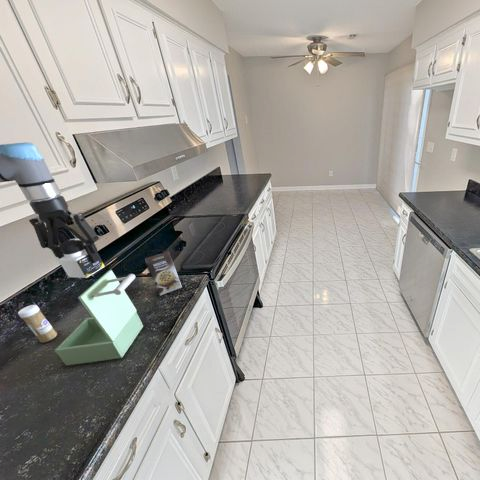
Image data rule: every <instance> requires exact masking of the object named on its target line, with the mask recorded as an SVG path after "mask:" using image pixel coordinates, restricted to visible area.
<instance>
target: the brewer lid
mask: <svg viewBox="0 0 480 480" xmlns="http://www.w3.org/2000/svg"><path fill="white" fill-rule="evenodd" d="M135 279H136V275H135V274H134V273H129V274H128V275H127V276H123V277H117V276H116V275H115V273H114V272H113V270H112V269H109V270H108V271H106V272H105V273H104V274H103V275H102V276H100V278H98V279H97V280H96V281H95V282H94V283H93V284H91V286H89V287H88V288H87V289H86V290H84V292H83V293H81V294H80V295H79V296H78V297H77V299H78V300H79V302H80V303H81V304H82V305H83V307H84V308H85V309H86V311H87V312H88V313H89V315H90V316H91V318H92V317H93V319H94V320H95V321H96V323H97V324H98V325H99V327H100V328H101V329H102V331H103V332H104V334H105V335H106V336H107V338H108V339H109V340H110V342H113V341H114V340H115V339H116V337H117V336H118V335H119V333H120V332H121V331H122V329H123V328H124V327H125V326H126V324H127V323H128V322H129V320H130V319H131V318H132V316H133V315H134V314H135V312H136V313H137V307H135V306H134V304H133V302H132V300H131V298H130V297H129V295H128V294H127V292H126V291H125V290H126V289H127V288H128V286H130V285H131V284H132V283H133V281H135ZM120 281H121V282H120Z"/></svg>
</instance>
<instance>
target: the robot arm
mask: <svg viewBox="0 0 480 480" xmlns="http://www.w3.org/2000/svg"><path fill="white" fill-rule="evenodd" d="M8 182H16V184H17V186H18V188H19V189H20V190H21V192H22V195H23V196H24V197H25V199H26V200H27V201H29V206H30V207H31V209H32V210H33V211H32V212H34V214H36V215H38V216H35V217H32V218H29V220H28V222H29V223H30V224H31V226H32V227H33V229H34V231H35V234H36V237H37V239H38V243H39V246H40V247H41V248H42V249H45V248H46V249H49V250H51V252H52V254H53V255H54V256H55V257H56V258H58V260H59V259H60V258H62V257H64V254H63V253H62V251H61V249H60V248H59V245H60V244H61V243H60V239H59V237H60V235H59V228H63V229H65V230H66V231H69V232H70V233H71V234H72V235H74V236H75V237H76V239H80V240H81V241H82V242H83V243H84V244H85V245H84V246H83V247H84V248H85V250H86V252H87V254H88V256H89V258H90V259H91V261H92V263H96V262H97V261H98V260H100V258H101V257H100V258H99V256H100V255H99V256H98V254H99V253H98V254H97V252H98V248H97V246H96V244H95V243H96V242H97V241H99V240H100V238H99V236H98V235H97V234H96V232H95V231H94V229H93V228H92V227H91V226H90V223H88V221H87V220H86V219H85V215H84V213H83V212H77V213H72V211H70V210H69V205H68V203H67V201H66V199H65V197H64V196H63V195H62V192H61V190H60V188H59V186H58V184H57V183H56V180H55V178H54V177H53V175H52V173H51V171H50V169H49V167H48V165H47V163H46V161H45V158H44V157H43V156H42V154H41V152H40V151H39V149H38V148H37V146H36V145H35V144H34V143H32V142H14V143H4V144H3V143H1V144H0V183H8Z"/></svg>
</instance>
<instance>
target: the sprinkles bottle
mask: <svg viewBox="0 0 480 480" xmlns="http://www.w3.org/2000/svg"><path fill="white" fill-rule="evenodd" d="M17 314H18V316H19V317H20V318H21V319H23V321H24V322H25V323H26V325H27V327H28V328H29V329H30V330H31V331H32V333H33V334H34V336H36V337H37V339H38V340H39V343H47V342H50V341H51V340H53V339H54V338H56V337H57V336H58V332H57V331H56V330H55V329H54V328H53V325H52V324H51V323H50V322H49V320H48V319H47V318H46V317H45V315H44V314H43V312H42V311H41V310H40V307H39V306H38V305H37V304H30V305H28V306H25V307H23V308H21V309H20V310H19V311H18V312H17Z"/></svg>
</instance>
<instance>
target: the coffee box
mask: <svg viewBox="0 0 480 480" xmlns="http://www.w3.org/2000/svg"><path fill="white" fill-rule="evenodd" d="M144 260H145V264H146V266H147V268H148V269H147V270H148V271H149V274H150V276H151V278H152V281H153V283H154V285H155V287H156V290H157V293H158V295H159V296H163V295H166V294H168V293H171V292H174V291H176V290H179V289H183V285H182V283H181V280H180V278H179V275H178V272H177V270H176V266H175V264H174V262H173V261H174V260H173V258H172V256H171V253H170V251H165V252H162V253H158V254H154V255H152V256H148V257H145V259H144Z"/></svg>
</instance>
